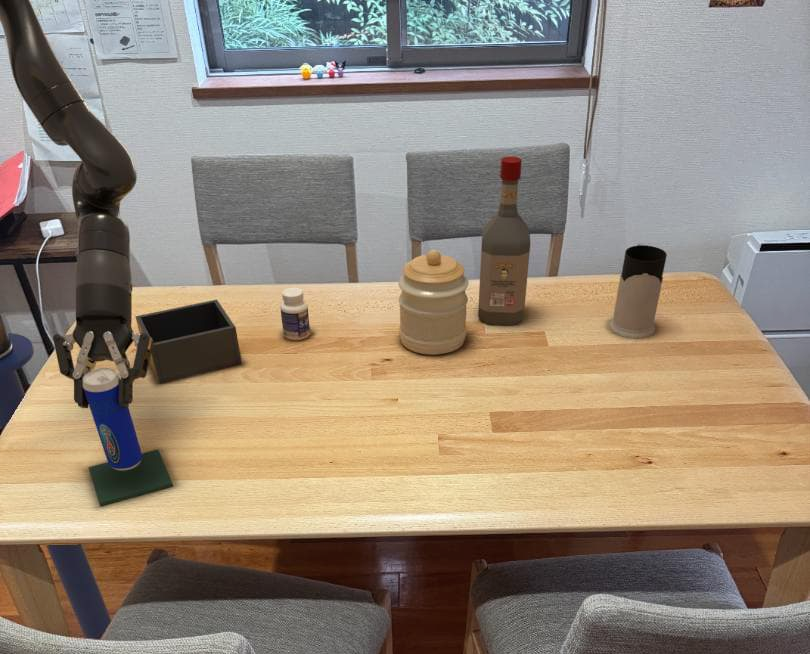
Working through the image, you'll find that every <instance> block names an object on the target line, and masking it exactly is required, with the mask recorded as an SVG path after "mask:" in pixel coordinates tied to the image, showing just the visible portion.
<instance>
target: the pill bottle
mask: <svg viewBox="0 0 810 654" xmlns="http://www.w3.org/2000/svg"><path fill="white" fill-rule="evenodd" d="M281 297H282V302H281V304H280V305H279V307H280V309H279V310H280V317H281V325H282V332H283V337H284V338H286V339H287V340H289V341H301V340H304V339H307V338H308V337H309V336H310V335H311V327H310V315H309V306H308V302H307V301H306V300H304V291H303V289H302V288H299V287H288V288H285V289H284V290H282V292H281Z"/></svg>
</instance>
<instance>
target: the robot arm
mask: <svg viewBox="0 0 810 654" xmlns="http://www.w3.org/2000/svg"><path fill="white" fill-rule="evenodd" d="M0 24H1V26H2V30H3V32H4V36H5V41H6V46H7V51H8V58H9V64H10V69H11V73H12V77H13V80H14V83H15V85H16V87H17V90H18V91H19V94H20V96H21V97H22V99H23V101H24V102H25V104H26V105H27V107H28V108H29V110H30V111H31V113H32V115H33V116H34V117H35V119H36V121H37V122H38V124H39V125H40V127H41V128H42V130H43V131H44V133H45V134H46V135H47V137H48V138H49V139H50V141H52V142H53V143H54V144H55V145H57V146H61V147H66V146H69V148H70V149H71V150H72V151H73V152H74V153H75V154H76V155H77V157H78V158H79V159H80V160H81V161H80V163H78V165H77V166H76V168H75V169H74V172H73V176H72V181H71V182H72V183H71V194H72V195H71V197H72V203H73V208H74V215H75V219H76V222H77V226H78V232H77V260H76V261H77V262H76V268H75V327H74V329H73V331H72V333H70V334H64V335H61V334H59V333H55V334H54V335H53V337H52V340H53V345H54V349H55V355H56V359H57V364H58V369H59V372H60V374H61V375H63V376H64V377H66V378H67V379H70V380H72V381H73V401H74V403H76V404H77V406H78V408H81V409H89V408H90V407H89V404H88V401H87V398H86V395H85V392H84V389H83V377H84V376H85V375H86V374H87V373H88V372H90V371H93V370H95V367H96V364H97V362H100V363H101V362H104V361H109V362H113V363H114V364H115V366H116V368H117V371H118V373H119V374H118V375H119V377H120V379H119V406H121V407H122V408H128V407H130V405H131V404H132V403H133V402H134V401H133V400H134V399H133V398H134V396H133V395H134V394H133V393H134V391H133V389H134V382H135V380H137V379H140V378H141V379H144V378H146V377H147V374H148V371H149V367H150V363H149V361H150V357H151V352H152V347H153V343H154V341H153V339H152V338H151V337H150V336H149V335H148V334H146V333H142V334H140V333H139V332H138V333H137V332H134V330H133V328H132V322H133V321H132V317H133V316H132V315H133V314H132V313H133V312H132V311H133V310H132V308H133V306H132V300H133V299H132V298H133V297H132V296H133V295H132V292H133V282H132V281H133V279H132V278H133V277H132V270H131V269H132V268H131V236H130V235H131V234H130V228H129V226H128V224H127V222H125V220H124V219H122V218H121V214H120V213H121V212H120V208H121V201H122V200H123V199H124V198H125V197H127V196H128V195H129V194H130V193H131V192H132V191H133V189H134V188H135V187H136V184H137V181H138V180H137V179H138V177H137V176H138V175H137V169H136V166H135V163H134V161H133V158H132V156H131V154H130V153H129V151H128V149H126V146H124V145H123V144H122V142H121V141H120V140H119V139H118V138H117V137H116V136H115V135H114V134H113V133H112V132H111V131H110V130H109V129H108V127H107V126H106V125H105V124H104V123H103V122H102V121H101V120H100V119H99V118H98V117H97V116H95V115H94V113H93V112H92V111H91V109H90V108H89V105H88V104H87V103H86V101H85V100H84V98H83V95H81V93H80V92H79V90H78V89H77V87H76V85H75V84H74V82H73V80H72V79H71V77H70V75H69V74H68V73H67V70H66V69H65V68H64V67H63V65H62V62H61V61H60V59H59V58H58V55H57V54H56V52H55V51H54V49H53V47H52V45H51V43H50V41H49V39H48V37H47V36H46V32H45V31H44V29H43V27H42V25H41V23H40V21H39V18H38V16H37V14H36V12H35V9H34V6H33V4H32V3H31V0H0ZM8 333H9V332H8V331H7V328H6V326H5V322H4V319H3V318H2V315H1V313H0V361H1V360H3V359H5V358H6V357H8V356H9V355H10V354H11V353H12V352H13V349H14V348H13V345H12V342H11V341H10V338H9V336H8ZM133 342H134V347H135V348H136V351H135V355H134V360H133V366H132V367H131V363H130V361H129V358H128V355H127V353H126V352H127V351H128V349H129V348H130V346H131V345H132V344H133ZM75 343H76V344H77V345H78V347H79V348H80V349H79V352H78V355H77V357H76V365H74V361H73V357H72V351H73V350H74V345H75Z"/></svg>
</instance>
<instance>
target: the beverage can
mask: <svg viewBox="0 0 810 654" xmlns="http://www.w3.org/2000/svg"><path fill="white" fill-rule="evenodd" d="M119 379H121V376H120V375H119V374H118V373H117V371H116V370H115V369H112V368H109V367H102V368H101V367H100V368H96V369H95V368H94V369H92V371H90V372H88V373H87V374H86V375H85V376H84V377H83V389H84V392H85V395H86V398H87V401H88V404H89V407H88V408H89V410H90V413H91V415H92V418H93V421H94V425H95V428H96V431H97V434H98V437H99V440H100V443H101V446H102V449H103V453H104V455H105V457H106V461H107V462H108V464H109V465H110V466H111V467H112V468H114V469H116V470H122V471H123V470H129V469H132V468H134V467H136V466H137V465H138V464H139V463H140V462H141V459H142V453H143V452H142V449H141V445H140V443H139V438H138V435H137V431H136V428H135V425H134V420H133V418H132V413H131V412H130V411H131V410H130V408H129V407H130V406H129V407H128V408H122V407H121V406H119Z"/></svg>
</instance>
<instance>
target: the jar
mask: <svg viewBox="0 0 810 654" xmlns="http://www.w3.org/2000/svg"><path fill="white" fill-rule="evenodd" d="M402 273H403V274H402V275H401V276H400V278H399V279H398V283H397V284H398V287H399V289H400V290H401V293H400V295H399V296H398V303H399V329H398V330H399V332H398V333H399V338H400V342H401V344H402V345H403V346H404V347H405V348H406V349H407V350H410V351H411V352H414V353H418V354H423V355H443V354H449V353H452V352H454V351H456V350H458V349H459V348H461V347H462V346H463V344H464V343H465V340H466V337H467V330H468V329H467V306H468V302H469V297H468V295H467V293H466V290H467V288H468V287H469V279H468V277H467V276H466V275H465V266H464V265H463V264H462V263H461V262H459V261H458V260H455V259H454V258H453V257H452V256H449V255H446V254H441V253H440V252H439V251H438V250H436V249H432V250H430V251H428V253H427V254H422V255H419V256H416V257H414V258H413V259H412V260H410V261H408V262H407V263H406V264H404V266H403V267H402Z"/></svg>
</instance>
